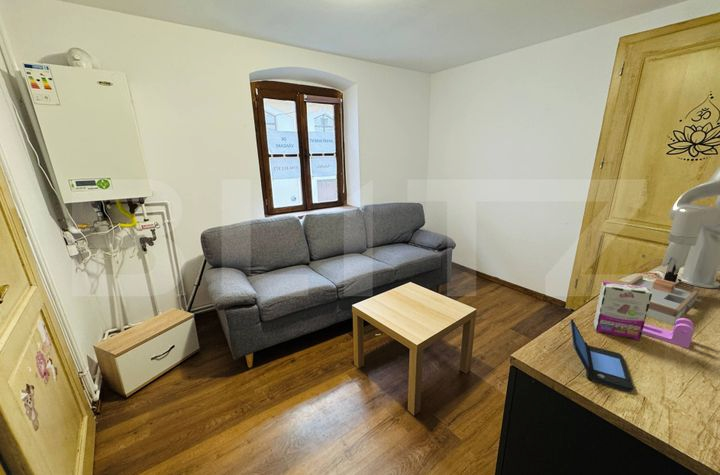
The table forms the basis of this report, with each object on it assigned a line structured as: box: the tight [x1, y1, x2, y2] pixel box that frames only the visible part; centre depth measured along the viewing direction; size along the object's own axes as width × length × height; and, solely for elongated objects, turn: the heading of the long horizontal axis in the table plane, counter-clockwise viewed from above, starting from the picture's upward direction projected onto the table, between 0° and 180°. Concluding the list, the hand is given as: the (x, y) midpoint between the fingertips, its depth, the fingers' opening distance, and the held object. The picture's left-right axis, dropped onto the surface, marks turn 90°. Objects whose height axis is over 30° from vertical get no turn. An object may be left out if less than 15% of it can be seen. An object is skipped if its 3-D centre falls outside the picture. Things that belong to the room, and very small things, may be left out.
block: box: [652, 278, 677, 293], centre depth 114 cm, size 5×5×3 cm
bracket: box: [642, 317, 695, 349], centre depth 92 cm, size 13×6×7 cm, turn 42°
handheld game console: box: [570, 318, 634, 392], centre depth 80 cm, size 16×13×9 cm
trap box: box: [627, 275, 700, 326], centre depth 110 cm, size 28×17×6 cm, turn 122°
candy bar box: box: [593, 281, 652, 341], centre depth 92 cm, size 11×5×16 cm, turn 62°
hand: (669, 282), depth 118 cm, fingers closed
